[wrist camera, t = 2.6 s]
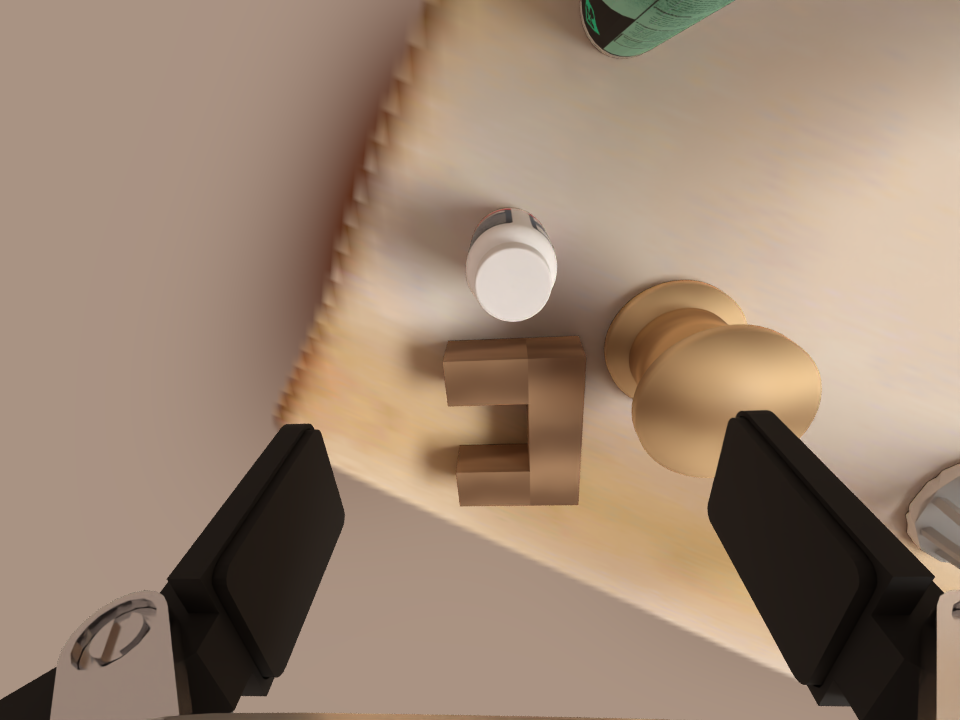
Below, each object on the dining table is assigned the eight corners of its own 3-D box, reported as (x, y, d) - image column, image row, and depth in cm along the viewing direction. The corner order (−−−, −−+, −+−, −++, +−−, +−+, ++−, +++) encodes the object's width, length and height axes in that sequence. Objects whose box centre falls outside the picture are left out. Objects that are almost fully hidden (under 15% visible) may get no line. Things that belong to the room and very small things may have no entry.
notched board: (448, 340, 33) (442, 362, 30) (578, 335, 32) (586, 356, 29) (463, 477, 40) (459, 506, 37) (572, 475, 39) (578, 504, 36)
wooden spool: (609, 283, 31) (646, 335, 23) (755, 276, 30) (847, 327, 22) (600, 401, 35) (628, 479, 27) (726, 397, 34) (793, 476, 26)
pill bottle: (464, 273, 31) (450, 320, 23) (481, 198, 28) (472, 222, 20) (535, 290, 31) (546, 342, 23) (557, 218, 29) (578, 249, 21)
